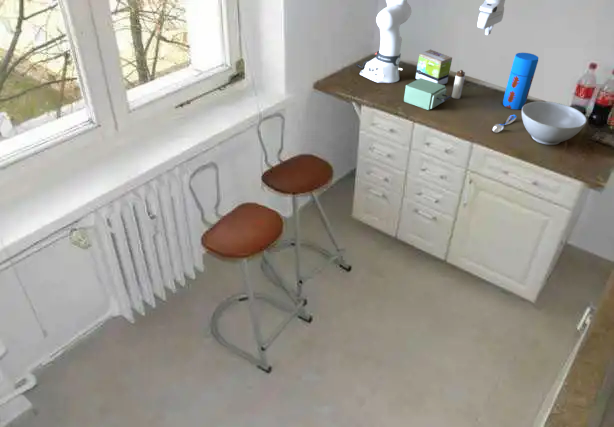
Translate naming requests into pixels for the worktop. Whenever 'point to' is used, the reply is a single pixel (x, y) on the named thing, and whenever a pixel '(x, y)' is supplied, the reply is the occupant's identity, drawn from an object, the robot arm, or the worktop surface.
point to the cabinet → (421, 92)
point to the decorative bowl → (552, 121)
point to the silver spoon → (501, 126)
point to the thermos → (520, 80)
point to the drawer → (439, 98)
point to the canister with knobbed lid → (458, 84)
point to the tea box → (433, 67)
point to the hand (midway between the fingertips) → (487, 34)
